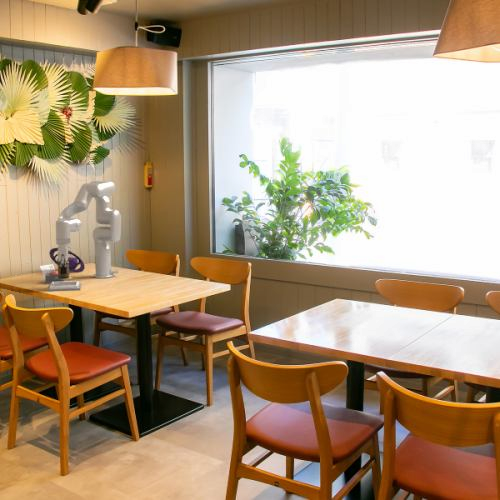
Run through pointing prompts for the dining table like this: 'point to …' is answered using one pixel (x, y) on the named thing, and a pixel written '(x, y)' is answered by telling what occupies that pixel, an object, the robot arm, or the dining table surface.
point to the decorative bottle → (69, 260)
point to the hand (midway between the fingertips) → (64, 272)
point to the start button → (54, 273)
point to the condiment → (63, 276)
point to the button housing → (52, 278)
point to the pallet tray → (64, 286)
